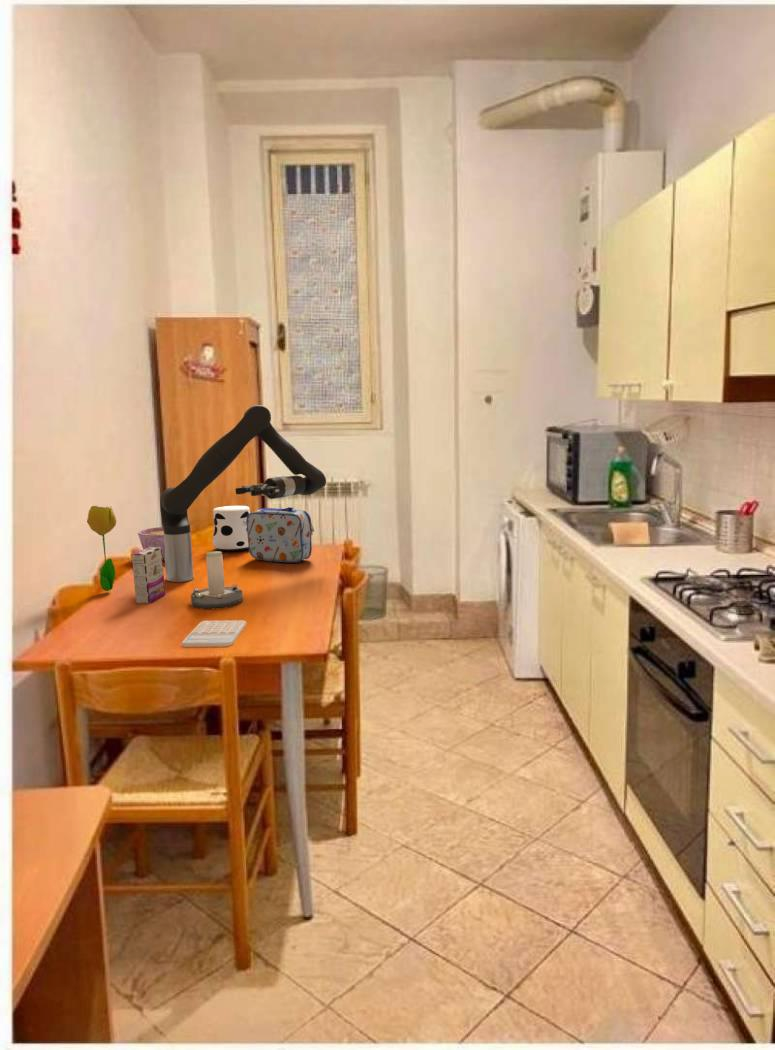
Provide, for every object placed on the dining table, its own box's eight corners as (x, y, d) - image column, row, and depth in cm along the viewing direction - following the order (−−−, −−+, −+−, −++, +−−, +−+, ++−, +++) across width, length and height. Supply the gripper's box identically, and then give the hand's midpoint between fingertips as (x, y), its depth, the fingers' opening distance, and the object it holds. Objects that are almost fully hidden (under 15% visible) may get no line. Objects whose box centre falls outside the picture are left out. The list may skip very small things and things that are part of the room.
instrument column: (205, 592, 243) (202, 553, 241) (218, 589, 247) (216, 550, 245) (214, 594, 240) (211, 554, 238) (227, 591, 243) (225, 552, 242)
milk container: (262, 548, 329) (260, 507, 326) (228, 555, 317) (226, 512, 314) (238, 544, 341) (236, 504, 338) (205, 550, 329) (202, 509, 326)
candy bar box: (152, 594, 255) (148, 546, 253) (165, 595, 254) (162, 546, 252) (134, 603, 245) (130, 553, 242) (149, 604, 244) (145, 553, 241)
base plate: (181, 603, 243) (180, 590, 242) (222, 593, 255) (221, 580, 254) (211, 612, 233) (210, 598, 232) (252, 600, 244) (252, 587, 244)
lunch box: (318, 560, 303) (316, 505, 300) (306, 565, 294) (303, 509, 290) (259, 556, 314) (256, 503, 310) (245, 561, 304) (242, 506, 301)
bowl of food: (129, 560, 312) (127, 532, 310) (168, 551, 328) (166, 525, 326) (161, 565, 301) (159, 536, 299) (200, 556, 317) (198, 528, 315)
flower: (111, 596, 255) (104, 507, 250) (90, 595, 256) (81, 507, 251) (125, 589, 263) (118, 503, 258) (104, 589, 265) (96, 503, 260)
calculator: (247, 625, 220) (247, 619, 219) (231, 648, 200) (230, 641, 200) (201, 626, 220) (201, 619, 220) (180, 648, 200) (180, 641, 200)
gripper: (266, 476, 280) (230, 480, 268) (292, 478, 271) (256, 482, 259) (267, 496, 281) (231, 501, 269) (293, 498, 272) (257, 504, 260)
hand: (243, 492), depth 264 cm, fingers open, 8 cm apart
